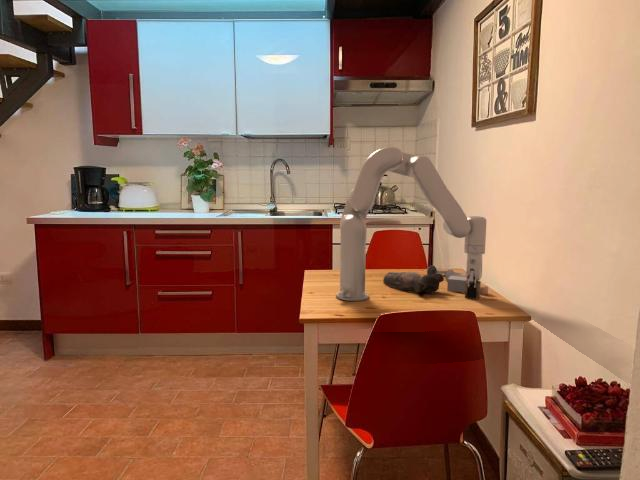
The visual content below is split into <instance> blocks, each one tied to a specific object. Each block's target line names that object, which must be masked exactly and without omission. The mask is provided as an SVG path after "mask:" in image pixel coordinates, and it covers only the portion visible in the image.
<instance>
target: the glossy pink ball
mask: <svg viewBox="0 0 640 480" xmlns="http://www.w3.org/2000/svg"><path fill="white" fill-rule="evenodd" d="M487 295H489V286H487V285H480V296H487Z"/></svg>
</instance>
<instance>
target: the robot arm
mask: <svg viewBox="0 0 640 480" xmlns="http://www.w3.org/2000/svg"><path fill="white" fill-rule="evenodd" d="M387 172H390V173H394V174H398V175H402V176H405V177H410V178H413V179H414V182H415V183H416V184H417V186H418V188H419V190H420V191H421V192H422V194H423V196H424V197H425V198H424V199H426V201H427V203H429V204H430V205H431V206H432V207H433V208H434V209H435V210H436V211H437V212H438V213H439V215H440V216H441V217H442V219H443V223H442V225H443V226H442V227H443V230H444V231H445V233H447V234H448V235H450V236H453V237H454V238H458V239H462V238H464V247H463V251H464V252H463V253H464V254H466V274H465V275H466V277H467V279H468V288H467V297H468V298H467V299H469V298H476V289H477V288H476V281H481V279H482V276H483V255H485V254H486V243H487V242H486V241H487V240H486V237H487V218H485V217H484V216H480V215H479V216H477V215H476V216H473V215H472V216H467V215H466V214H465V211H464V210H463V208H462V207H461V205H460V204H459V202H458V201H457V199H456V198H455V197H454V196H453V194H452V193H451V191H450V190H449V189H448V187H447V186H446V183H444V180H443V179H442V177H441V175H440V174H439V172H438V171H437V168H436V167H435V165H434V164H433V162H432V161H431V159H430V158H429V157H427V155H424V154H423V155H421V154H420V155H414V154H410V153H406V152H404V151H402V150H401V149H400V148H398V147H396V146H386V147H383V148H380V149H377V150H376V151H374V152H373V153H371V154H369V156H367V158H366V159H365V161H364V163H363V164H362V166H361V168H360V171H359V174H358V176H357V179H356V182H355V184H354V188H352V190H350V192H349V194H348V196H347V199H346V201H345V205H344V207H343V210H342V211H343V212H342V215H341V216H340V217H341V218H340V220H339V229H340V243H339V244H340V245H339V246H340V247H339V249H340V251H339V252H340V253H339V254H340V255H339V257H340V259H339V261H340V264H339V265H340V267H339V270H340V271H339V274H340V278H339V279H340V280H339V285H340V287H339V288H340V289H339V291H337V293H335V297H336V298H337V299H339V300H342V301H347V302H360V301H365V300H368V299H369V298H370V293H368V292H366V246H367V244H366V243H367V224H366V219H367V216H368V213H369V211H370V210H371V209H372V208H373V207H374V204H375V200H376V197H377V193H378V190H379V187H380V185H381V182H382V179H383V177H384V175H385V174H386V173H387ZM473 281H474V282H473Z"/></svg>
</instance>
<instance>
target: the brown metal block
mask: <svg viewBox="0 0 640 480" xmlns="http://www.w3.org/2000/svg"><path fill="white" fill-rule="evenodd" d="M473 282H474V281H473ZM480 285H481V280H478V281H476V288H477V289H476V298H468V297H467V288H468V280H467V281H466V283H465V292H464V299H470V300H471V299H472V300H479V299H480V297H481V295H480Z"/></svg>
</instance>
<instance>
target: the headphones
mask: <svg viewBox="0 0 640 480" xmlns="http://www.w3.org/2000/svg"><path fill="white" fill-rule="evenodd" d="M421 271H422V272H424V270H422V269H421ZM434 274H442V275H444V280H446V283H448V278H449V277H450V276H461V277H466V274H463V273H461V272H460V273H459V272H456V271H454V270H453V269H448V270H444V269H443V270H442V269H441V270H440V269H437V267H436V266H435V265H429V266H428V267H427V270H426V275H430V276H431V275H434Z"/></svg>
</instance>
